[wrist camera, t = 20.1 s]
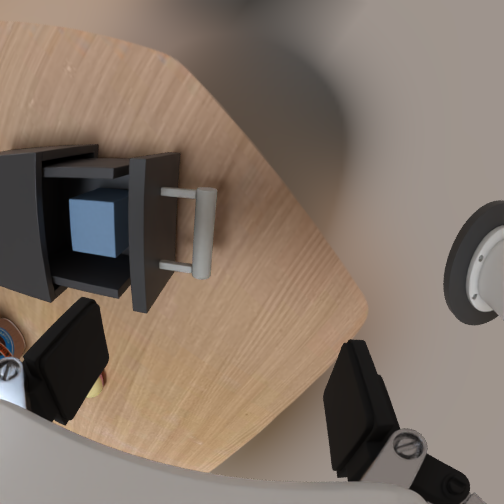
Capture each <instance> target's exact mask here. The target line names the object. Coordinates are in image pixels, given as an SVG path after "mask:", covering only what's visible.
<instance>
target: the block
mask: <svg viewBox="0 0 504 504" xmlns="http://www.w3.org/2000/svg"><path fill="white" fill-rule="evenodd" d="M69 210H70V226H71V238H72V249H73V251H78V252H84V253H90V254H96V255H102V256H108V257H114V258H116V257H117V256H118V255H119V254H121V253H122V252H123V251H124V250H125V249H127V248H128V247H129V234H128V190H125V189H110V188H97V189H95V190H92V191H89V192H86V193H84V194H81V195H78V196H76V197H73V198H70V199H69Z"/></svg>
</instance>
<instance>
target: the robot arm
mask: <svg viewBox="0 0 504 504" xmlns="http://www.w3.org/2000/svg"><path fill="white" fill-rule="evenodd" d="M466 293H467V297H468V299H469V301H470V303H471V304H472V305H473V306H474V307H475V308H476V309H478V310H479V311H483V312H487V311H492V310H494V311H495V312H496V313H497V314H498V315H499V316H500V317H501V318H502V319H503V320H504V225H501V226H499V227H496V228H495V229H493V230H492V231H490V232H489V233H488V234H487V235H486V236H485V237H484V239H483V240H482V241H481V243H480V244H479V246H478V247H477V249H476V251H475V252H474V255H473V257H472V259H471V262H470V265H469V268H468V272H467V277H466ZM23 358H24V361H23V362H21V361H20V360H19V359H17V358H15V357H5V358H2V359H0V504H486V503H485V502H484V501H483V500H482V499H481V498H480V497H479V496H478V495H477V494H476V493H473V494H471V493H470V492H469V491H470V483H469V480H468V479H467V477H466V476H465V475H464V474H463V473H461V472H460V471H458V470H456V469H454V468H452V467H450V466H448V465H446V464H444V463H443V462H441V461H439V460H437V459H436V458H434V457H432V456H430V455H429V454H427V449H428V448H427V443H426V440H425V438H424V437H423V436H422V435H421V434H420V433H418V432H417V431H415V430H412V429H405V428H404V429H400V427H399V424H398V421H397V418H396V415H395V412H394V409H393V406H392V404H391V401H390V398H389V395H388V392H387V390H386V387H385V384H384V381H383V379H382V377H381V376H380V375H378V374H377V372H376V369H375V366H374V363H373V361H372V358H371V355H370V353H369V350H368V348H367V345H366V342H365V341H364V340H352V339H350V340H349V341H348V342H347V343H343V345H342V347H341V350H340V353H339V355H338V358H337V361H336V363H335V366H334V368H333V371H332V374H331V376H330V379H329V381H328V383H327V386H326V388H325V391H324V395H323V401H324V408H325V415H326V422H327V430H328V438H329V446H330V454H331V463H332V469H333V470H334V471H337V477H338V478H341V477H347V478H348V482H291V481H271V480H258V479H248V478H239V477H231V476H224V475H217V474H211V473H206V472H200V471H195V470H190V469H185V468H181V467H176V466H172V465H168V464H164V463H160V462H156V461H153V460H149V459H146V458H142V457H139V456H136V455H132V454H129V453H126V452H123V451H120V450H117V449H114V448H112V447H109V446H106V445H103V444H101V443H98V442H96V441H93V440H91V439H88V438H86V437H83V436H81V435H79V434H76V433H74V432H72V431H70V430H67V429H65V428H63V427H61V426H59V425H57V424H54V423H52V422H53V420H55V421H57V422H59V423H61V424H63V425H65V426H66V424H67V422H68V421H69V420H72V419H73V418H74V416H75V415H76V413H77V411H78V410H79V408H80V406H81V405H82V403H83V401H84V400H85V398H86V397H87V395H88V393H89V392H90V390H91V389H92V387H93V385H94V384H95V382H96V381H97V379H98V377H99V376H100V374H101V373H102V371H103V370H104V368H105V367H106V365H107V363H108V361H109V353H108V349H107V344H106V339H105V334H104V329H103V324H102V318H101V313H100V307H99V305H98V304H97V303H96V301H95V300H93V299H89V298H85V297H81V298H80V299H78V300H77V301H76V302H75V303H74V304H73V305H72V306H71V307H70V308H69V309H68V310H67V311H66V312H65V313H64V314H63V315H62V316H61V317H60V318H59V319H58V320H57V321H56V322H55V323H54V324H53V325H52V326H51V327H50V328H49V329H48V330H47V331H46V332H45V333H44V334H43V335H42V336H41V337H40V338H39V339H38V341H37V342H36V343H35V344H34V345H33V346H32V347H31V348H30V349H29V350H28V351H27V352H26V353H25V354H24V356H23Z"/></svg>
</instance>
